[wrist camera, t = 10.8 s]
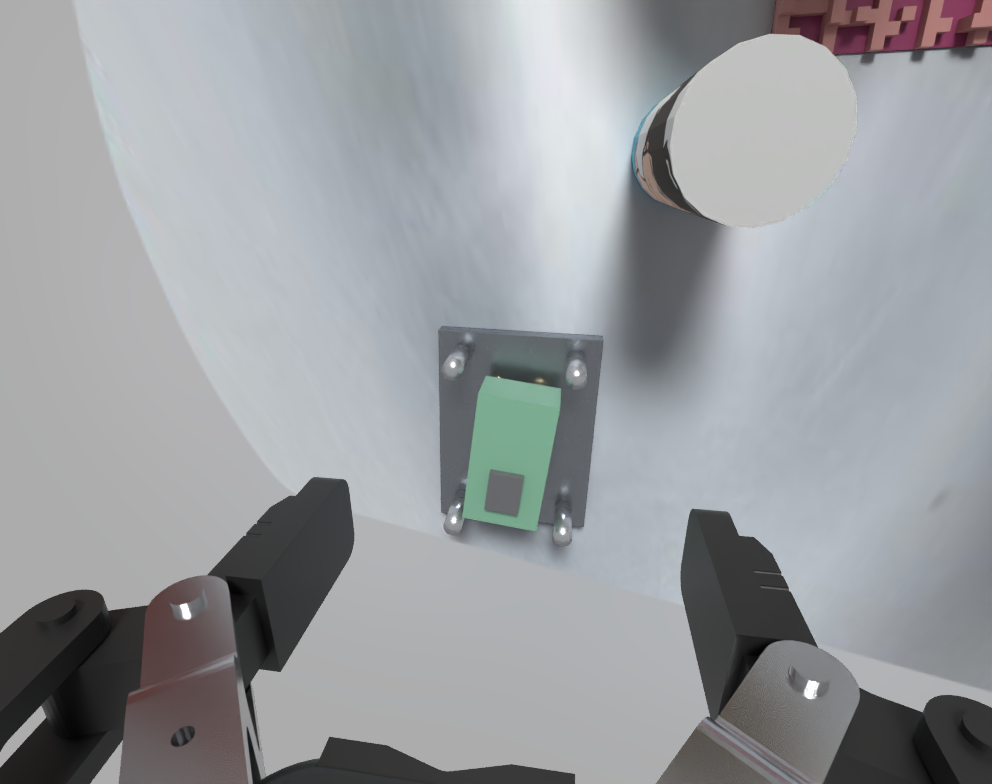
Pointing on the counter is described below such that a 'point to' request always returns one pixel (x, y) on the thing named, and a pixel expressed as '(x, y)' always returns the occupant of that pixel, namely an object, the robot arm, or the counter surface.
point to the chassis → (529, 361)
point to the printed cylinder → (750, 133)
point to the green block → (511, 452)
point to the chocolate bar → (886, 23)
